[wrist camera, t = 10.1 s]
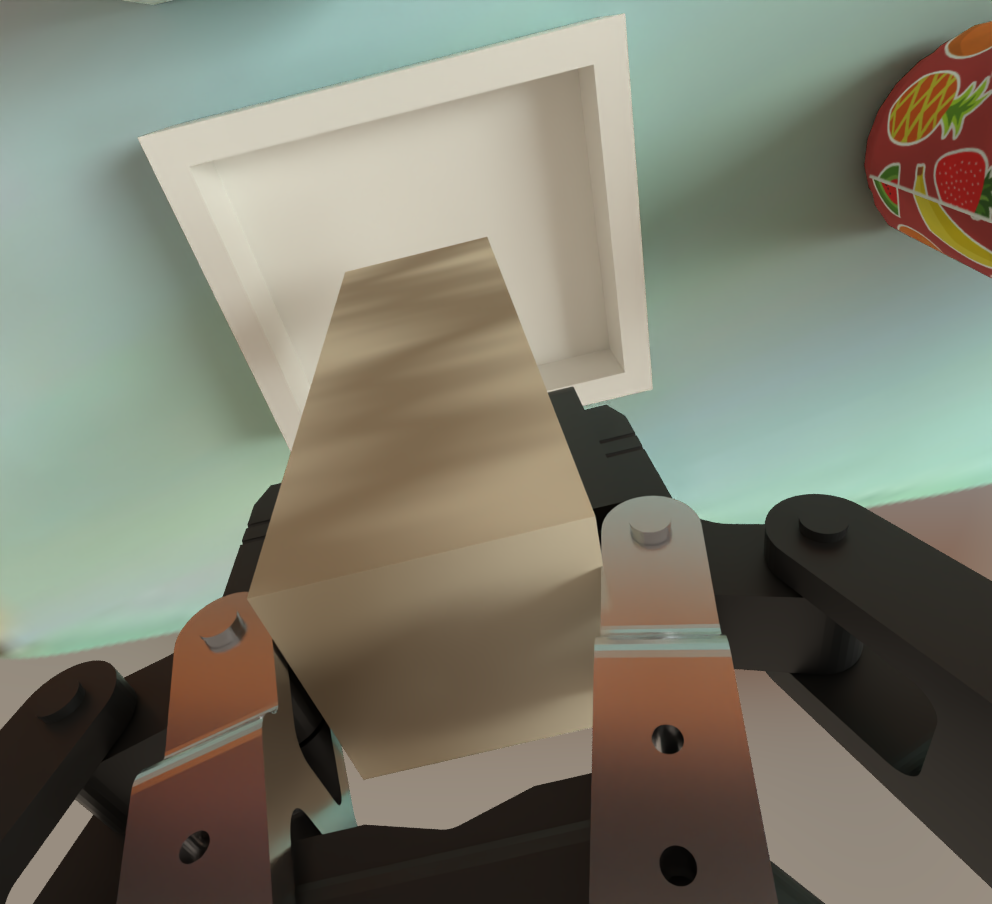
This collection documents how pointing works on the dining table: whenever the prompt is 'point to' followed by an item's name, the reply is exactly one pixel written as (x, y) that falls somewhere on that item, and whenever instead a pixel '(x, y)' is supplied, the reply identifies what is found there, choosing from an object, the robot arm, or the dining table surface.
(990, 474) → the dining table surface
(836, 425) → the dining table surface
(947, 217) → the smoothie
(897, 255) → the dining table surface
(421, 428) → the birch peg
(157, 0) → the white open box
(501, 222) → the plastic tray
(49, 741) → the robot arm
